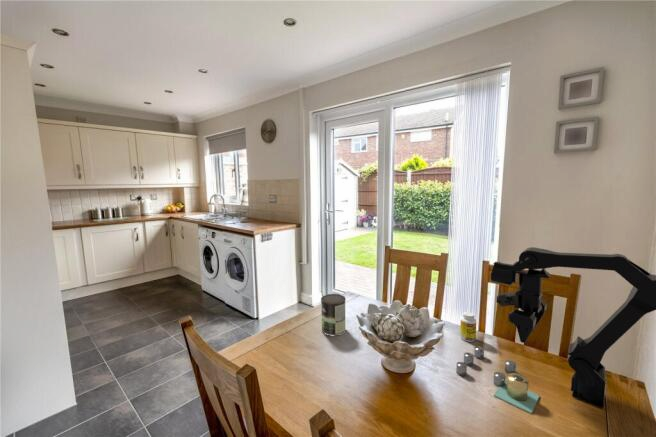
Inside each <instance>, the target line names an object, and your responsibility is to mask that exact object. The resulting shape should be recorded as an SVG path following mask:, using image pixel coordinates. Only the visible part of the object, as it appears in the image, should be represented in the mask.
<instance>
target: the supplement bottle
mask: <svg viewBox="0 0 656 437" xmlns="http://www.w3.org/2000/svg"><path fill="white" fill-rule="evenodd" d="M459 327H460V329H459V330H460V332H459V336H460V338H461V340H463V341H464V342H469V343H470V342H471V343H472V342H476V339H477V336H476V335H477V319H476V318H475V314H474V313H473V312H471V311H464V312H463V314H462V316H461V317H460V326H459Z"/></svg>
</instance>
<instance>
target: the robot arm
mask: <svg viewBox="0 0 656 437" xmlns="http://www.w3.org/2000/svg"><path fill="white" fill-rule="evenodd" d="M551 268H570V269H571V268H572V269H584V270H585V269H586V270H600V271H613V272H615V273H616V274H618V275H619V276H620V277H622V278H623V279H624V280H625V281H626V282H628V283H629V284H630V285H631V286H632V288H631V290H630V291H629V294H628V296H627V298H626V300H625V301H624V303H622V304H621V305H620V307H618V308H617V309H616V310H615V311H614V312H613V313H612V314H611V315H610V317H608V318H607V319H606V320H605V322H604V323H603V324H601V326H600V327H599V328H597V330H595V331H594V333H592V335H590V336H589V337H587V338H585V339H583V338H582V337H580V336H579V335H578V336H577V337H576V339H575V341H574V342H572V343H570V344H569V345H568V352H567V355H568V356H567V357H568V359H567V362H568V365H569V367H570V368H571V369H572V370H573V371H574V373H572V376H571V385H570V391H571V392H572V393H571V397H573V398H574V399H577V400H580V401H582V402H585V403H587V404H590V405H592V406H595V407H597V408H600V409H604V408H605V404H606V403H605V402H606V387H607V386H606V385H607V379H606V366H605V365H603V364H602V363H601V362H602V359H603V358H604V355H605V353H606V352H607V351H608V350H609V349H610V348H611V347H612V346H613V345H614V344H615V343H616V342H618V341H619V339H620V338H622V337H623V336H624V335H625V334H626V333H627V332H628V331H629V330H630V329H631V328H632V327H633V326H634V325H635V324H636V323H637V322H638V321H639V320H641V319H642V318H643V317H644V316H645V315H646V314H647V315H648V314H649V313H652V312H654V311H656V274H652V273H651V272H649V271H647V270H646V269H644V268H642V267H641V266H639V265H638V264H636V263H635V262H633V261H632V260H631V259H628V257H627V256H626V255H623V254H620V253H614V254H605V253H604V254H603V253H581V252H558V251H554V250H549V249H544V248H539V247H527V248H525V250H523V251H522V252H521V253H520V254H519V256H518V260H517V261H515V262H514V263H513V264H512V263H511V264H509V263H505V262H501V261H494V262H493V267H492V269H491V272H490V281H491V282H492V283H496V284H502V285H505V286H506V285H507V286H511V287H512V286H513V285H514V284H517V283H518V290H516V291H515V292H504V293H499V294H498V295H497V296H496V302H495V303H497V304H498V305H499V307H500V308H501V307H509V306H511V307H512V306H513V307H514V308H515V309H513V310H511V311H510V312H509V313H508V317H507V321H508V322H510V323H511V324H512V325H514V326H515V327H516V329H517V334H518V338H519V341H520V343H522V344H525V343H526V342H527V340H528V338H529V337H530V335H531V333H533V332H534V331H535V329H536V328H537V325H538V324H539V323H540V321H541V320H542V318H543V316H544V314H545V313H546V311H547V309H548V308H547V307H548V303H547V301H546V300H544V299H542V297H543V291H542V287H543V284H542V283H543V279H549V278H550V277H551V273H550V272H549V271H547V269H551ZM519 309H520V310H519Z"/></svg>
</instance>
